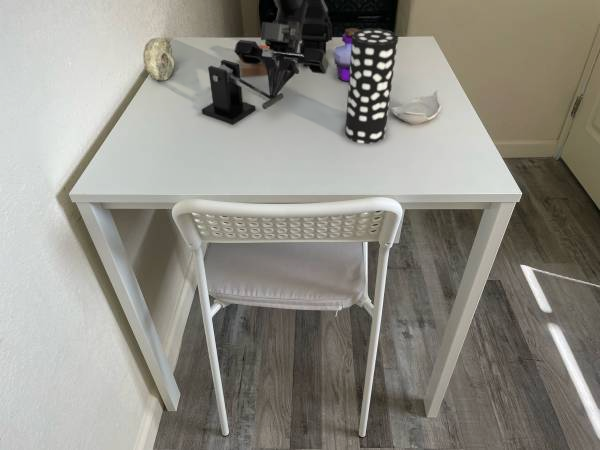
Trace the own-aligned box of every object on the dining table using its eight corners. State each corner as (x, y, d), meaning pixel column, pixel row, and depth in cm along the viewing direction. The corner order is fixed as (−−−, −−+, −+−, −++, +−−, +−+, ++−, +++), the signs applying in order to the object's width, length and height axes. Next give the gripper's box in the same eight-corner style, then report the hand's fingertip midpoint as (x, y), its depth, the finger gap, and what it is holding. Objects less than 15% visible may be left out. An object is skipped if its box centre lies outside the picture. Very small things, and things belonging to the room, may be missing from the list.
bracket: (255, 110, 104) (252, 63, 97) (232, 124, 99) (227, 77, 92) (225, 100, 108) (220, 55, 101) (202, 114, 103) (194, 67, 96)
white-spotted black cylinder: (388, 127, 98) (401, 31, 85) (380, 146, 92) (393, 46, 79) (350, 121, 100) (358, 26, 87) (340, 139, 94) (347, 41, 81)
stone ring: (158, 87, 113) (149, 47, 107) (146, 85, 114) (136, 45, 108) (180, 71, 120) (172, 32, 114) (168, 70, 121) (160, 31, 115)
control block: (283, 59, 127) (282, 44, 124) (288, 73, 119) (287, 58, 117) (240, 61, 125) (238, 47, 123) (242, 76, 118) (240, 61, 115)
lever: (282, 101, 97) (284, 91, 95) (265, 113, 93) (267, 102, 91) (228, 71, 101) (229, 61, 99) (210, 80, 97) (210, 70, 95)
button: (268, 51, 122) (268, 44, 120) (270, 56, 119) (269, 49, 118) (255, 52, 121) (254, 45, 120) (256, 57, 118) (255, 50, 117)
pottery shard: (429, 107, 105) (434, 87, 101) (449, 132, 97) (454, 110, 93) (386, 110, 104) (389, 90, 100) (402, 136, 95) (406, 114, 92)
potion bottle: (352, 88, 113) (356, 38, 105) (324, 78, 117) (326, 30, 109) (371, 76, 118) (376, 28, 110) (344, 68, 122) (347, 21, 114)
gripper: (233, -3, 88) (215, 74, 88) (326, 6, 84) (307, 87, 83) (252, 26, 99) (236, 95, 99) (335, 36, 95) (318, 108, 94)
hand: (272, 96), depth 93 cm, fingers closed
